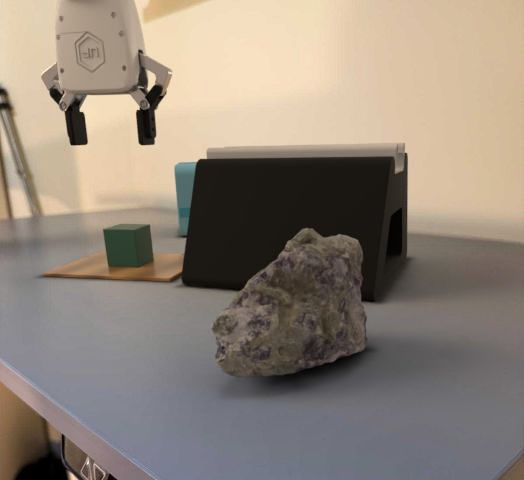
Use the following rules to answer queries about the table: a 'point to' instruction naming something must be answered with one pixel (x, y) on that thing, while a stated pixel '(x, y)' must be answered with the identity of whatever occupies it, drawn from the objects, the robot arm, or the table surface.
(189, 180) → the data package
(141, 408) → the table surface
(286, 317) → the mineral rock
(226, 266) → the device stand
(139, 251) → the dark green block
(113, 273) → the wooden board
